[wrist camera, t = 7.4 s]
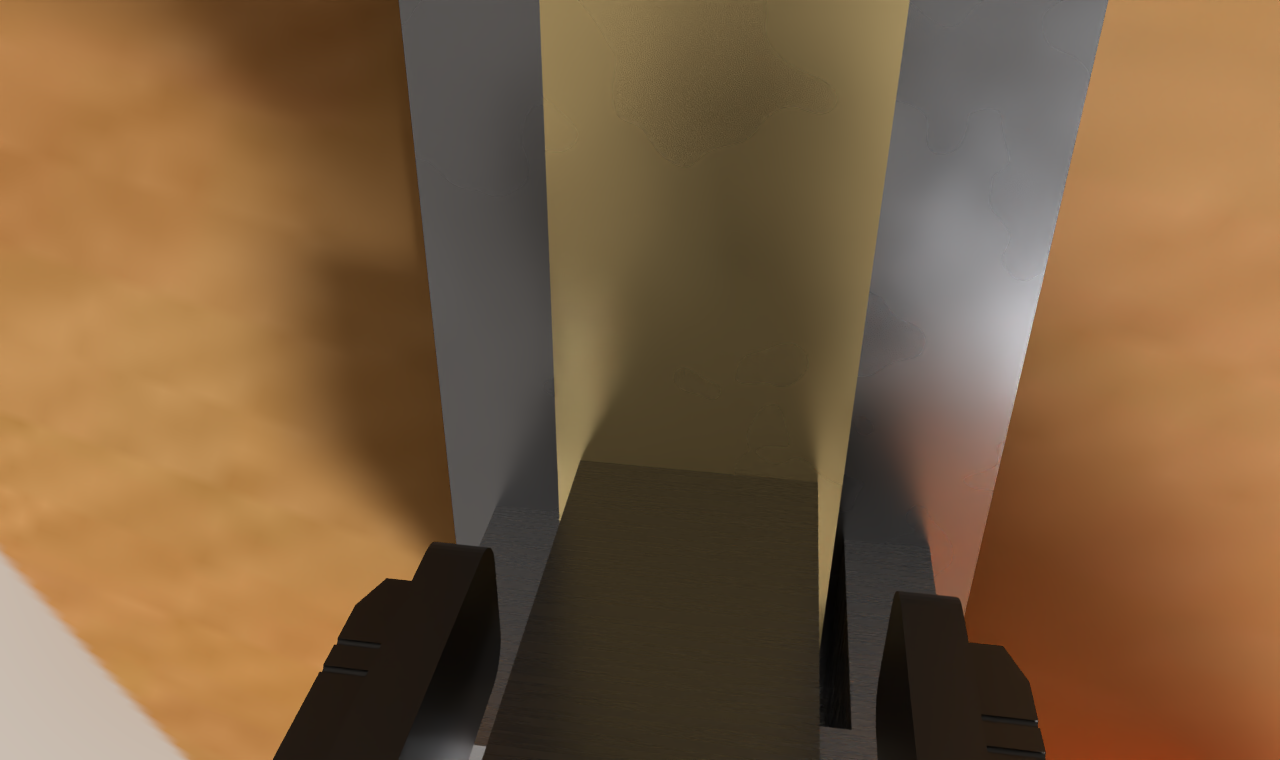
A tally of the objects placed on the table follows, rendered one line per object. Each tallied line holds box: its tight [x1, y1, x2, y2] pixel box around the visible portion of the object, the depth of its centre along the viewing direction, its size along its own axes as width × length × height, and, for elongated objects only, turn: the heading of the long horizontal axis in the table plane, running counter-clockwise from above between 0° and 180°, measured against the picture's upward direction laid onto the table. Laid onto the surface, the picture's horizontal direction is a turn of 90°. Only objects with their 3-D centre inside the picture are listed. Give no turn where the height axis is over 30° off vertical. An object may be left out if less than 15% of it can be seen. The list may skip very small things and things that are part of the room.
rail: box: [399, 0, 1108, 760], centre depth 12 cm, size 25×9×6 cm, turn 179°
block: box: [482, 0, 910, 760], centre depth 11 cm, size 16×4×9 cm, turn 179°
